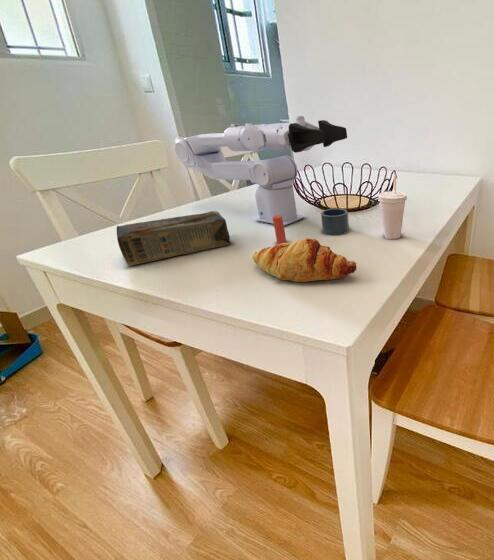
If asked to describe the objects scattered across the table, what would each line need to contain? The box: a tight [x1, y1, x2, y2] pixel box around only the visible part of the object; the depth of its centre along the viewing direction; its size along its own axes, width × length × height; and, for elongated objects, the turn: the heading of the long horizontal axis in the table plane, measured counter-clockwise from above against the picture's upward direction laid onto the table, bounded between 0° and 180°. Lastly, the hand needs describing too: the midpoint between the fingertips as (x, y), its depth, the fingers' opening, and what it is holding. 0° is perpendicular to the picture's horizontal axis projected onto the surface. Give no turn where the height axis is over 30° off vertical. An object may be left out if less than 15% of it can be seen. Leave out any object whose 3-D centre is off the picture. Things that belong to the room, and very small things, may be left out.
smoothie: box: [377, 173, 408, 240], centre depth 76 cm, size 6×6×14 cm
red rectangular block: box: [273, 215, 287, 245], centre depth 75 cm, size 2×2×6 cm
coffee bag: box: [116, 210, 232, 267], centre depth 71 cm, size 8×19×7 cm, turn 127°
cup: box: [320, 208, 350, 236], centre depth 82 cm, size 6×6×4 cm
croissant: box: [252, 237, 357, 283], centre depth 62 cm, size 21×10×8 cm, turn 74°
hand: (335, 134), depth 72 cm, fingers open, 7 cm apart
